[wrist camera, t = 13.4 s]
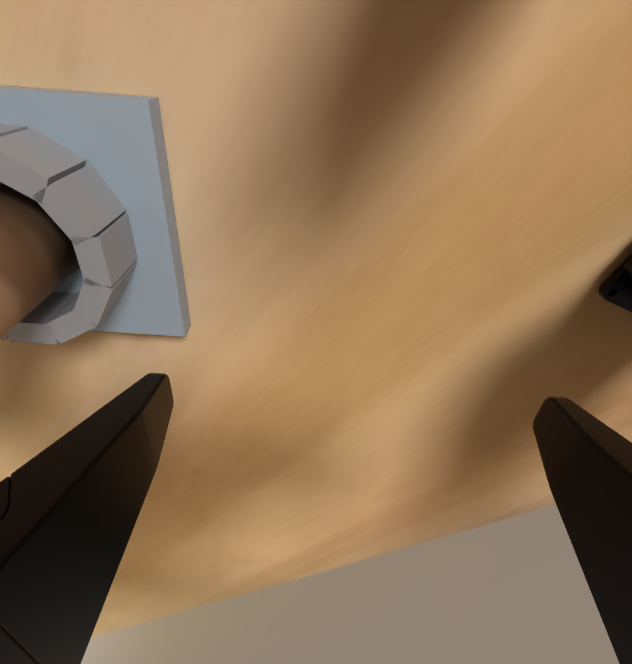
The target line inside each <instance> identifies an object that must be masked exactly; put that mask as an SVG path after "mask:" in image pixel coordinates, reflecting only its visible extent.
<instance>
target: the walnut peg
mask: <svg viewBox="0 0 632 664" xmlns="http://www.w3.org/2000/svg"><path fill="white" fill-rule="evenodd" d="M79 268H80V266H79V262H78V259H77V256H76V253H75V249H74V246H73V243H72V241H71V240H70V238H69V237H68V236H67V235H66V234H65V233H64V232H63V231H62V229H61V228H60V227H59V226H58V225H57V224H56V223H55V222H54V220H53V219H52V218H51V217H50V216H49V215H48V214H47V213H46V211H45V210H44V209H43V208H42V207H41V206H40V205H39V204H38V202H37V201H35V200H34V199H32V198H30V197H28V196H26V195H24V194H22V193H20V192H19V191H17V190H15V189H13V188H11V187H9V186H7V185H6V184H4V183H1V184H0V339H1V338H2V337H3V336H4V335H5V334H6V333H8V332H9V331H10V330H11V329H12V328H13V327H14V326H15V325H16V324H18V323H19V322H20V321H21V320H22V319H23V318H24V317H25V316H26V315H28V314H29V313H30V312H31V311H32V310H33V309H34V308H35V307H36V306H38V305H39V304H40V303H41V302H42V301H43V300H44V299H45V298H46V297H48V296H49V295H50V294H51V293H52V292H53V291H54V290H55V289H56V288H58V287H59V286H60V285H61V284H62V283H63V282H64V281H65V280H66V279H68V278H69V277H70V276H71V275H72V274H73V273H74V272H75V271H76V270H78V269H79Z"/></svg>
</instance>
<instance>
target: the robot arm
mask: <svg viewBox="0 0 632 664" xmlns="http://www.w3.org/2000/svg"><path fill="white" fill-rule="evenodd" d="M611 289H613V290H612V291H611V292H609V290H611ZM599 294H600V295H601V296H602V297H603V298H604V299H605V300H607V301H609V302H612V303H614V304H616V305H618V306H620V307H622V308H624V309H627V310H629V311H631V312H632V255H631V256H630V257H629V258H628V259H627V260H626V261H625V262H624V263H623V264H622V265H621V266H620V267H619V268H618V269H617V270H616V271H615V272H614V273H613V274H612V275H611V276H610V277H609V278H608V279H607V281H606V282H605V283H604V284H603V285H602V286H601V287H600V288H599ZM172 409H173V395H172V390H171V385H170V380H169V377H168V375H166V374H162V373H149V374H147V375H146V376H144V377H143V378H141V379H140V380H139V381H137V382H136V383H135V384H133V385H132V386H131V387H129V388H128V389H126V390H125V391H124V392H122V393H121V394H120V395H118V396H117V397H116V398H114V399H113V400H111V401H110V402H109V403H107V404H106V405H105V406H103V407H102V408H101V409H99V410H98V411H96V412H95V413H94V414H92V415H91V416H90V417H88V418H87V419H86V420H84V421H83V422H81V423H80V424H79V425H77V426H76V427H75V428H73V429H72V430H71V431H69V432H68V433H66V434H65V435H64V436H62V437H61V438H60V439H58V440H57V441H56V442H54V443H53V444H52V445H50V446H49V447H47V448H46V449H45V450H43V451H42V452H41V453H39V454H38V455H37V456H35V457H34V458H32V459H31V460H30V461H28V462H27V463H26V464H24V465H23V466H22V467H20V468H19V469H17V470H16V471H15V472H13V473H12V474H11V476H10V477H6V478H5V479H4V480H2V481H1V482H0V664H81V661H82V658H83V656H84V654H85V651H86V648H87V646H88V643H89V641H90V638H91V636H92V633H93V631H94V628H95V625H96V623H97V620H98V618H99V615H100V613H101V610H102V607H103V605H104V602H105V600H106V597H107V595H108V592H109V590H110V587H111V584H112V582H113V579H114V577H115V574H116V572H117V569H118V567H119V564H120V561H121V559H122V556H123V554H124V551H125V549H126V546H127V543H128V541H129V538H130V536H131V533H132V531H133V528H134V526H135V523H136V520H137V518H138V515H139V513H140V510H141V508H142V505H143V503H144V500H145V497H146V495H147V492H148V490H149V487H150V485H151V482H152V480H153V477H154V474H155V471H156V469H157V466H158V462H159V459H160V455H161V451H162V447H163V443H164V440H165V436H166V432H167V428H168V424H169V420H170V417H171V413H172ZM533 430H534V434H535V437H536V441H537V444H538V448H539V451H540V455H541V459H542V462H543V466H544V469H545V473H546V477H547V480H548V483H549V486H550V489H551V492H552V495H553V497H554V500H555V503H556V505H557V507H558V510H559V512H560V515H561V518H562V520H563V523H564V525H565V528H566V530H567V533H568V535H569V538H570V540H571V543H572V545H573V548H574V550H575V553H576V555H577V558H578V560H579V563H580V565H581V568H582V570H583V573H584V575H585V578H586V580H587V583H588V585H589V588H590V590H591V593H592V595H593V598H594V600H595V603H596V605H597V608H598V610H599V613H600V615H601V618H602V621H603V623H604V625H605V628H606V631H607V633H608V636H609V638H610V641H611V643H612V645H613V648H614V651H615V653H616V656H617V658H618V661H619V663H620V664H632V443H631V442H630V441H628V440H627V439H625V438H624V437H623V436H621V435H620V434H618V433H617V432H615V431H614V430H612V429H611V428H610V427H608V426H607V425H605V424H604V423H602V422H601V421H599V420H598V419H597V418H595V417H594V416H592V415H591V414H589V413H588V412H587V411H585V410H584V409H582V408H581V407H579V406H578V405H576V404H575V403H574V402H572V401H571V400H569V399H567V398H564V397H548V398H546V399H545V400H544V402H543V404H542V406H541V408H540V409H539V411H538V413H537V415H536V417H535V418H534V422H533Z"/></svg>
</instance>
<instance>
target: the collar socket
mask: <svg viewBox="0 0 632 664" xmlns="http://www.w3.org/2000/svg"><path fill="white" fill-rule="evenodd" d="M1 183H4V184H6V185H7V186H9V187H11V188H13V189H15V190H17V191H19V192H20V193H22V194H24V195H26V196H28V197H30V198H32V199H34V200H35V201H37V202H38V204H39V205H40V206H41V207H42V208H43V209H44V210H45V211H46V213H47V214H48V215H49V216H50V217H51V218H52V219H53V220H54V222H55V223H56V224H57V225H58V226H59V227H60V228H61V229H62V231H63V232H64V233H65V234H66V235H67V236H68V237H69V238H70V240H71V241H72V243H73V246H74V249H75V253H76V256H77V259H78V262H79V266H80V268H79V269H78V270H76V271H75V272H74V273H73V274H72V275H71V276H70V277H69V278H68V279H66V280H65V281H64V282H63V283H62V284H61V285H60V286H59V287H58V288H56V289H55V290H54V291H53V292H52V293H51V294H50V295H49V296H48V297H46V298H45V299H44V300H43V301H42V302H41V303H40V304H39V305H38V306H36V307H35V308H34V309H33V310H32V311H31V312H30V313H29V314H28V315H26V316H25V317H24V318H23V319H22V320H21V321H20V322H19V323H18V324H16V325H15V326H14V327H13V328H12V329H11V330H10V331H9V332H8V333H6V334H5V335H4V336H3V337H2V339H4V340H7V339H8V338H9V339H10V341H11V342H27V343H43V344H58V343H59V342H60V343H64V342H66V341H68V340H70V339H72V338H74V337H76V336H78V335H80V334H83V333H85V332H87V331H103V332H119V333H135V334H151V335H167V336H183V337H185V336H186V334H187V332H188V330H189V327H190V325H191V324H190V317H189V310H188V303H187V296H186V289H185V282H184V275H183V268H182V261H181V254H180V247H179V240H178V233H177V226H176V219H175V212H174V205H173V198H172V191H171V184H170V177H169V170H168V163H167V156H166V149H165V142H164V135H163V128H162V121H161V114H160V107H159V100H158V97H147V96H133V95H120V94H107V93H93V92H80V91H67V90H53V89H40V88H27V87H13V86H0V184H1Z"/></svg>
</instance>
